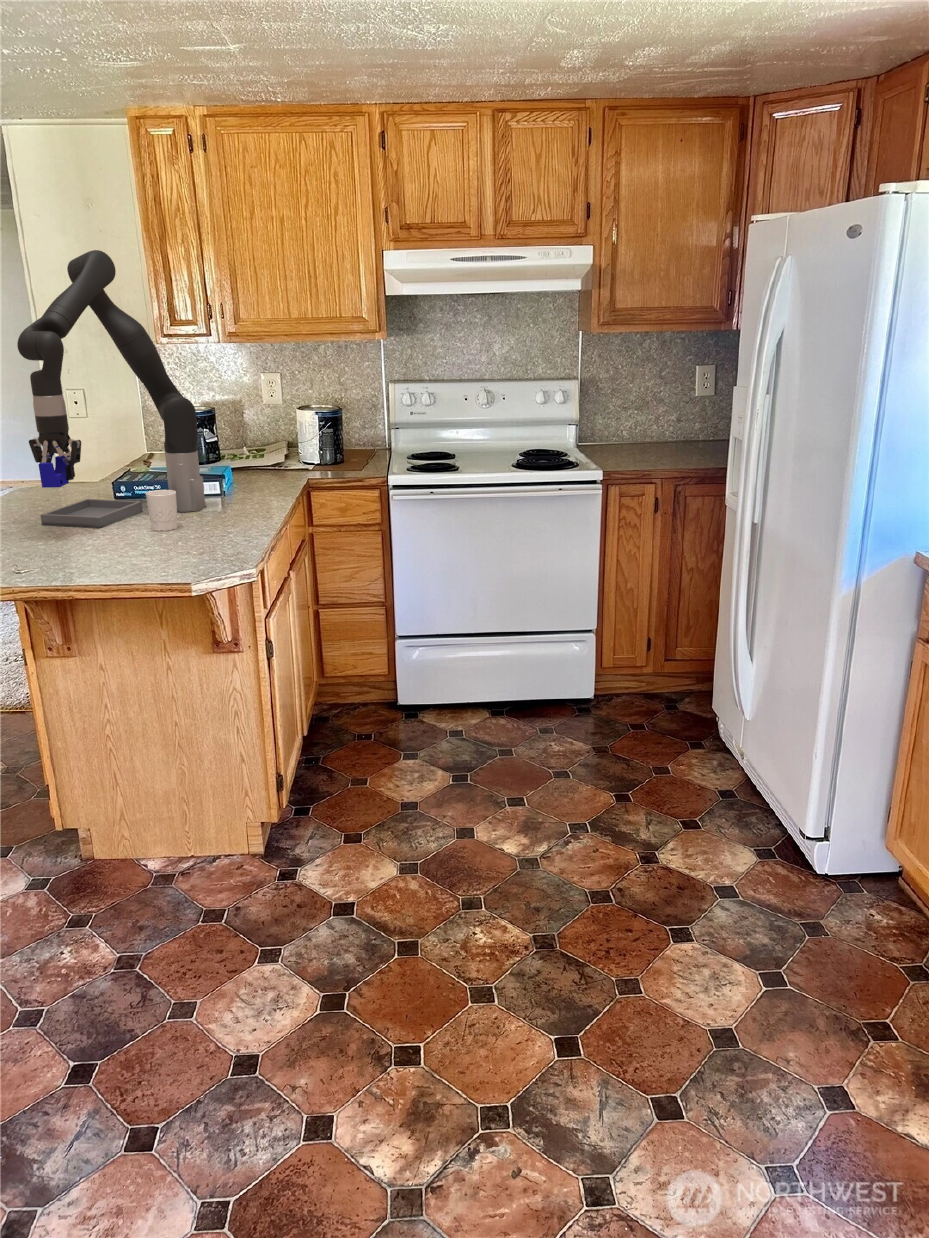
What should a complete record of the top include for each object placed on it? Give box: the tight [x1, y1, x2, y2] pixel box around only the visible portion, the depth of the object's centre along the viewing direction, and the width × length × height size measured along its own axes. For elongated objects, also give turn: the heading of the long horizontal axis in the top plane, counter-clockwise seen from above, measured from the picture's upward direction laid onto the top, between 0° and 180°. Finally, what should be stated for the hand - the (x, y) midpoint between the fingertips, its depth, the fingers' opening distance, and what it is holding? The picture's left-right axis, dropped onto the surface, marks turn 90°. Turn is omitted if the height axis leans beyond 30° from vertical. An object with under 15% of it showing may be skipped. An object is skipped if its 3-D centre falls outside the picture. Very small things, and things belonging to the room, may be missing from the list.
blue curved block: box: [37, 455, 70, 489], centre depth 239 cm, size 12×4×6 cm, turn 1°
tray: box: [40, 498, 144, 529], centre depth 264 cm, size 18×22×3 cm
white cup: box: [145, 489, 178, 532], centre depth 251 cm, size 8×8×10 cm
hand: (60, 479), depth 240 cm, fingers closed on blue curved block, 5 cm apart
